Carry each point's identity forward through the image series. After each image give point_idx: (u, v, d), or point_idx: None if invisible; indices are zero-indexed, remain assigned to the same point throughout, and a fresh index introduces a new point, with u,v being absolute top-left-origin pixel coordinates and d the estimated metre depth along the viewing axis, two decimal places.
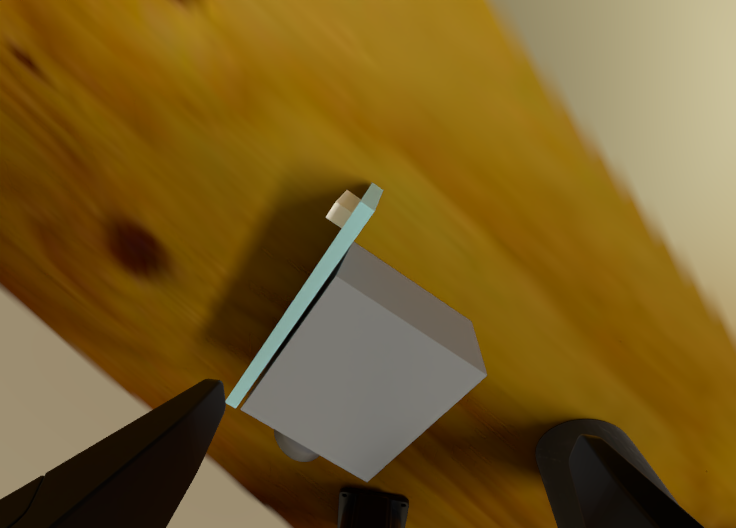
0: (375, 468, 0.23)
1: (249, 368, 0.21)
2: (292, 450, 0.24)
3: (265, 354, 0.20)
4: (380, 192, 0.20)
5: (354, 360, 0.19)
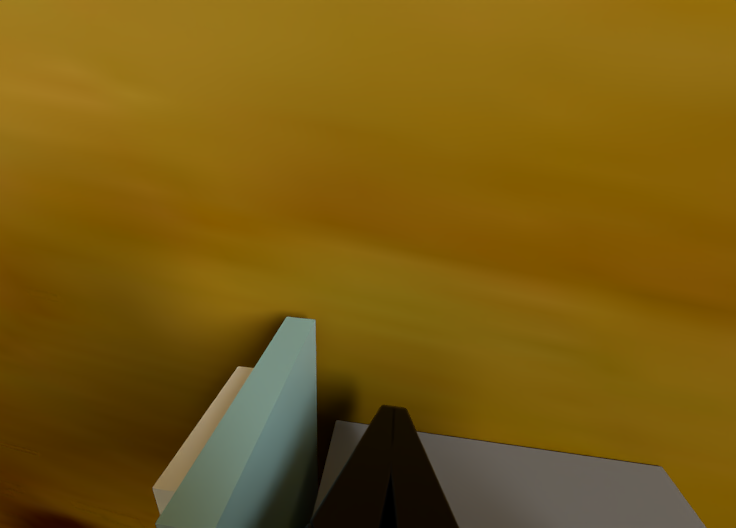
0: None
1: None
2: None
3: None
4: (300, 340, 0.08)
5: None
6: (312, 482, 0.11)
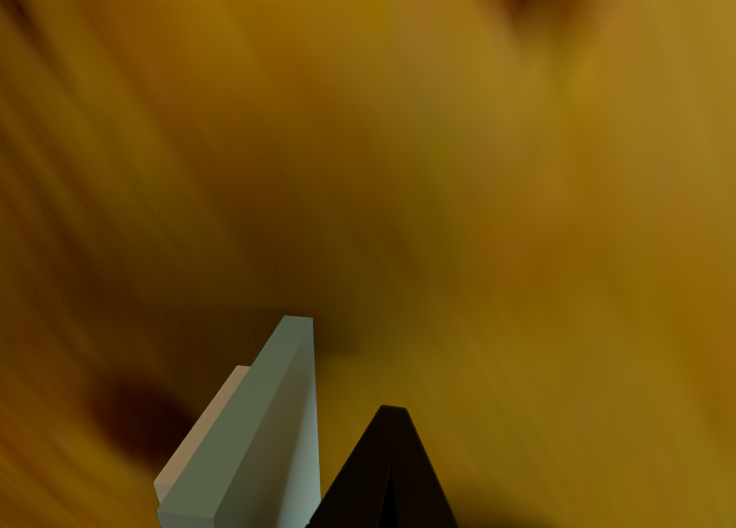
0: None
1: None
2: None
3: None
4: (298, 337, 0.08)
5: None
6: (314, 482, 0.11)
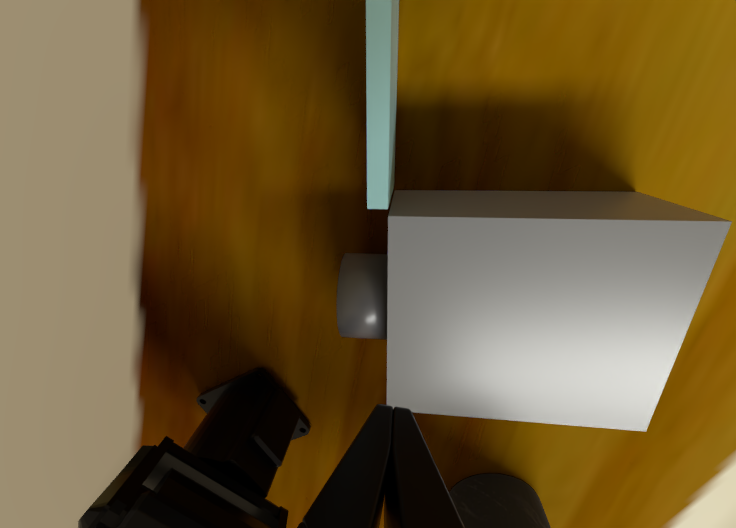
0: (417, 407, 0.17)
1: (369, 106, 0.12)
2: (351, 311, 0.16)
3: (377, 52, 0.11)
4: None
5: (586, 308, 0.14)
6: None
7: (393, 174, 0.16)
